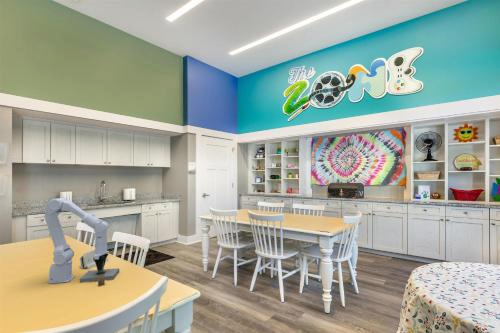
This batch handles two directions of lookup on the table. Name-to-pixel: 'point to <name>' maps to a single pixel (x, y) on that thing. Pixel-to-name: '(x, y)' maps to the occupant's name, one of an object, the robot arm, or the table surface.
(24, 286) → the table surface
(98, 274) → the long pin
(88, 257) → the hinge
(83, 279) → the hole plate
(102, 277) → the short pin
